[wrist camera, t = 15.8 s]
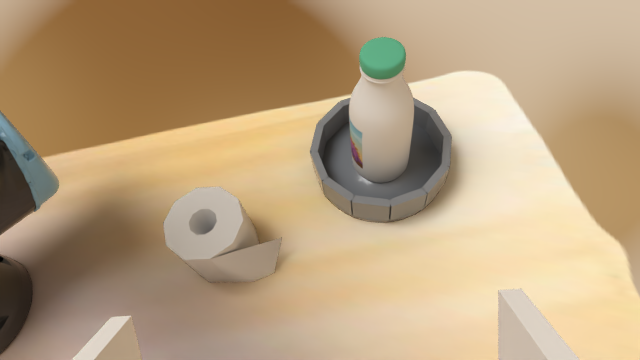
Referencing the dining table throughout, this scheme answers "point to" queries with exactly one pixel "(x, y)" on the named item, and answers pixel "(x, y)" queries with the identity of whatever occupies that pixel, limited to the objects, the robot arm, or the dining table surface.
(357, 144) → the milk bottle
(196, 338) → the dining table surface
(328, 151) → the bowl
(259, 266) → the toilet tissue
